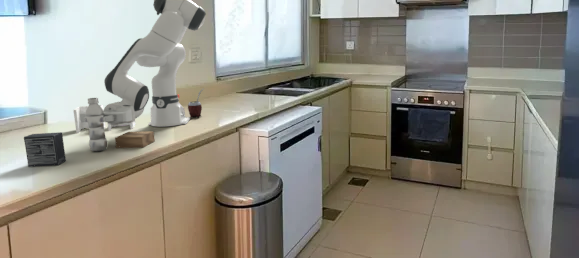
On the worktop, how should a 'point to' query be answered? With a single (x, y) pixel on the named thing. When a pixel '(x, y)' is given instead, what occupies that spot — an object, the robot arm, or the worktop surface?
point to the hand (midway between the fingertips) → (93, 119)
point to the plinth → (134, 139)
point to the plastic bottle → (95, 125)
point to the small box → (44, 149)
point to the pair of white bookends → (83, 125)
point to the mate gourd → (195, 108)
